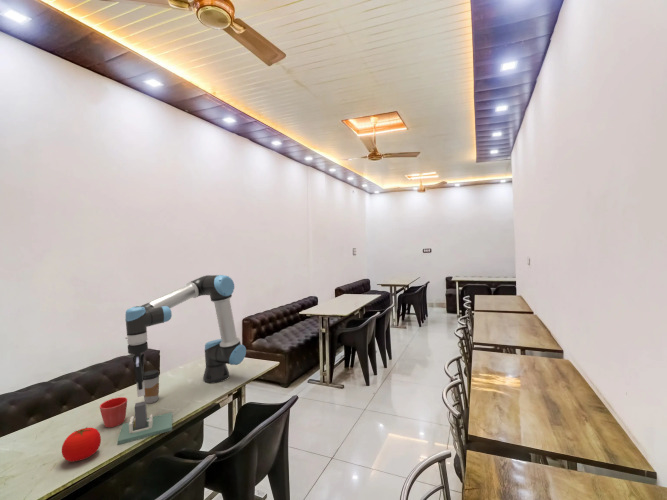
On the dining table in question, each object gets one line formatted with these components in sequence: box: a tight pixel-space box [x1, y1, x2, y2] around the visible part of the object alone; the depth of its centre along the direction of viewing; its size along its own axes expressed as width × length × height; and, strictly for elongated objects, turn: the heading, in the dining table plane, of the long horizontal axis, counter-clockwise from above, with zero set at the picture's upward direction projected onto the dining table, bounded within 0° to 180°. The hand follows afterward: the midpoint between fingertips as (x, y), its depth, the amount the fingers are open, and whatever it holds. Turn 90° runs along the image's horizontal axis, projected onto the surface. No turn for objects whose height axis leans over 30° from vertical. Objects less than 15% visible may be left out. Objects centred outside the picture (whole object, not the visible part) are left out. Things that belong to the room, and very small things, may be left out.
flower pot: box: [99, 396, 128, 429], centre depth 149 cm, size 11×11×10 cm
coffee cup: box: [143, 369, 160, 404], centre depth 170 cm, size 8×8×15 cm
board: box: [116, 411, 173, 446], centre depth 142 cm, size 20×15×6 cm
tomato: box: [61, 426, 102, 463], centre depth 124 cm, size 12×12×10 cm
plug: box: [134, 400, 148, 430], centre depth 141 cm, size 5×4×10 cm
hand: (141, 395), depth 142 cm, fingers closed
